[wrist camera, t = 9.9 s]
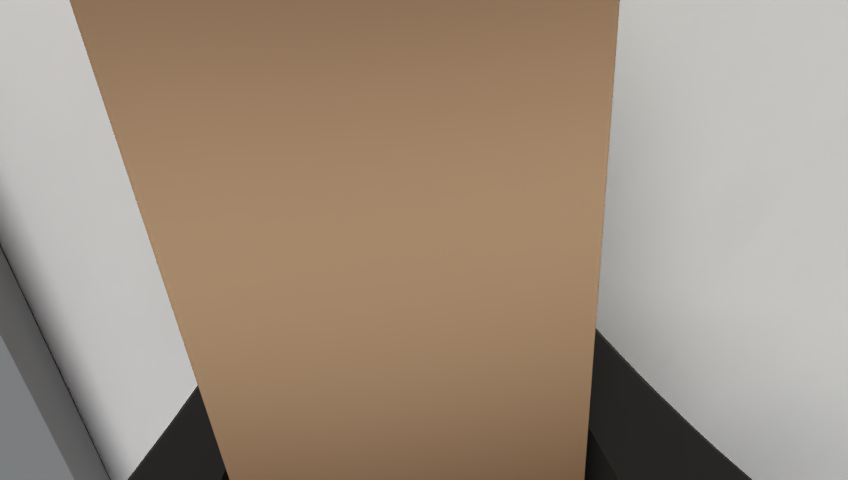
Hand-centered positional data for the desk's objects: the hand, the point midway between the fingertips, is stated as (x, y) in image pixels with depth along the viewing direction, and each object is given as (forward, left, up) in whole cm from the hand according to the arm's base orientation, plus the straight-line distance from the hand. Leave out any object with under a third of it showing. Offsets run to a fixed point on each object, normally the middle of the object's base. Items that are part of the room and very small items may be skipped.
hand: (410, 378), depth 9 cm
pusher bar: (0, 0, -3) cm, 3 cm away
